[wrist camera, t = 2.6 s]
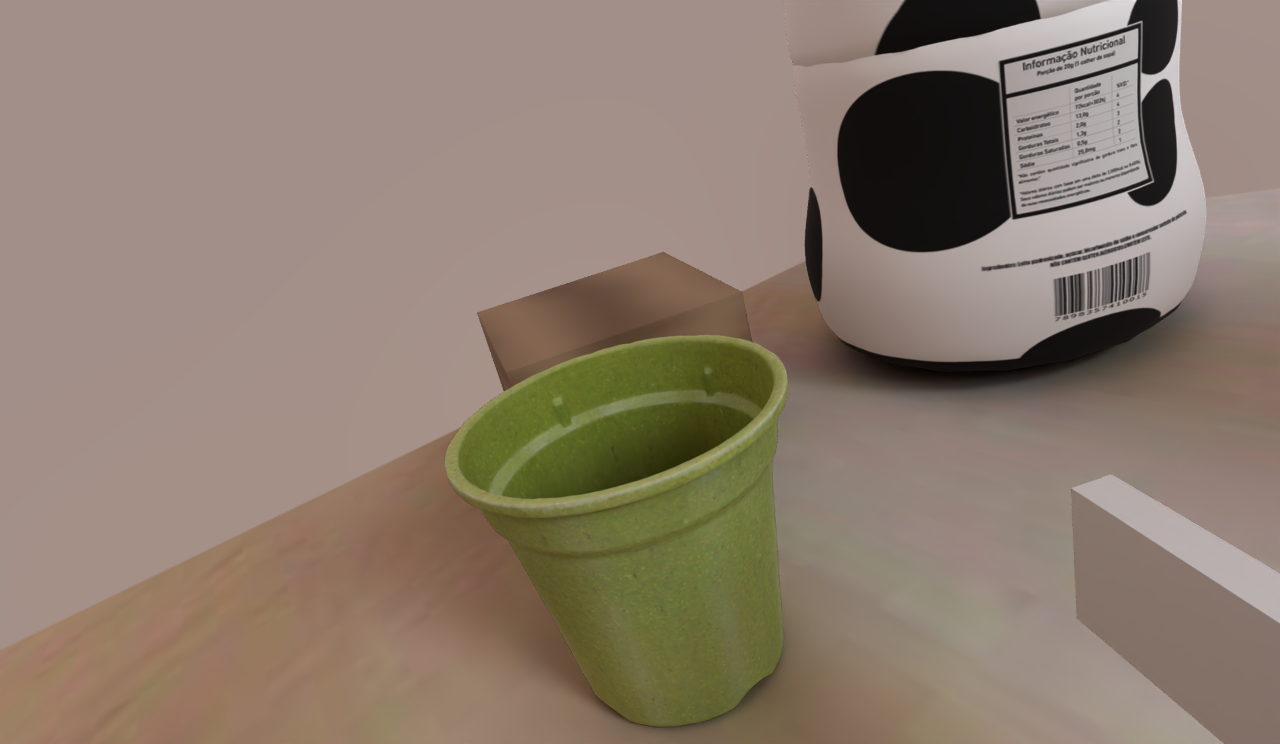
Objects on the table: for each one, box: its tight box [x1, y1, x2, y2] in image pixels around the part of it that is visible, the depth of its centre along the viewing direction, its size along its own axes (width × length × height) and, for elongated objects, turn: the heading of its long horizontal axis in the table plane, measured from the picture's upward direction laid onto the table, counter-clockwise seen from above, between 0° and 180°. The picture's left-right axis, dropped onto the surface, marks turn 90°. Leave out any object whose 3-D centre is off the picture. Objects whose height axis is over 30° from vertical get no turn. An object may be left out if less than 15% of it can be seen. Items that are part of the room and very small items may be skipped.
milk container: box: [784, 0, 1206, 371], centre depth 38 cm, size 17×17×18 cm
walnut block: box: [477, 252, 752, 391], centre depth 38 cm, size 10×10×7 cm
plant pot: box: [444, 335, 788, 727], centre depth 24 cm, size 9×9×9 cm
